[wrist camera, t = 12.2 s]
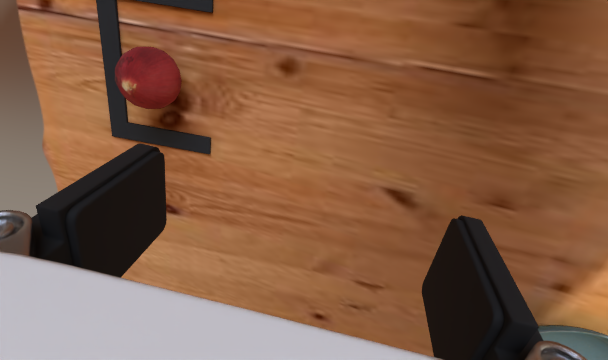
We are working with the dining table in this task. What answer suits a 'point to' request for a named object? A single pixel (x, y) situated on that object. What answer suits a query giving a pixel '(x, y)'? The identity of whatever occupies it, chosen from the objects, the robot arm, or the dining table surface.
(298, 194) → the dining table surface
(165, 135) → the bay
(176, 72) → the onion
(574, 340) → the saucer
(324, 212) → the dining table surface
